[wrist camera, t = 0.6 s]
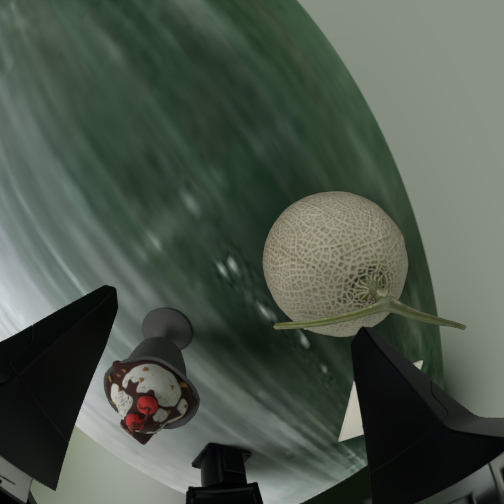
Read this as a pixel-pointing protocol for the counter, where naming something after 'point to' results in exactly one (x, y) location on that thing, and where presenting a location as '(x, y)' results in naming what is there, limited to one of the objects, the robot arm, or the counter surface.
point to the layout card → (356, 414)
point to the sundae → (154, 379)
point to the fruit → (338, 265)
